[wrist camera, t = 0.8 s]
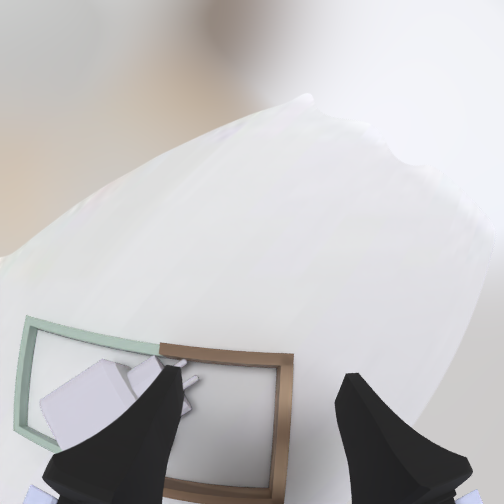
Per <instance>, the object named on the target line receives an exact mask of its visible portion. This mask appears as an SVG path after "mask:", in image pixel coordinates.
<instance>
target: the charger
mask: <svg viewBox="0 0 504 504" xmlns="http://www.w3.org/2000/svg"><path fill="white" fill-rule="evenodd" d="M186 364H187V360H186V359H182V360H181V361H179V362H178V363H176V364H175V365H173V366H178V367H180V368H181V367H183V366H184V365H186ZM163 368H164V366H163V364H162V363H161V362H160V360H159V359H158V358H157V357H156V356H155V355H153V356H151V357H150V358H148V359H147V360H145V361H144V362H142V363H141V364H139V365H138V366H136V367H135V368H133V369H132V370H131V368H130V367H128V366H125V365H122V364H118V363H115V362H111V361H108V360H105V359H101V360H100V361H98V362H97V363H95V364H94V365H92V366H91V367H89V368H88V369H86V370H85V371H83V372H82V373H80V374H79V375H77V376H76V377H74V378H73V379H71V380H70V381H68V382H66V383H65V384H63V385H62V386H60V387H59V388H57V389H56V390H54V391H53V392H51V393H50V394H48V395H47V396H45V397H44V398H42V399H41V400H40V402H39V403H40V408H41V411H42V413H43V416H44V418H45V420H46V422H47V424H48V426H49V428H50V430H51V432H52V433H53V435H54V437H55V439H56V441H57V443H58V444H59V446H60V448H61V450H62V451H64V450H66V449H69V448H71V447H73V446H75V445H77V444H79V443H81V442H83V441H85V440H86V439H88V438H90V437H92V436H93V435H95V434H97V433H98V432H100V431H101V430H103V429H104V428H105V427H107V426H108V425H110V424H111V423H112V422H113V421H115V420H116V419H117V418H118V417H119V416H121V415H122V414H123V413H124V412H125V411H126V410H127V409H128V408H129V407H130V406H131V405H132V404H133V403H134V402H135V401H136V400H137V399H138V398H139V397H140V396H141V395H142V394H143V393H144V392H145V390H146V389H147V388H148V387H149V386H150V385H151V383H152V382H153V381H154V380H155V379H156V377H157V376H158V375H159V373H160V372H161V371H162V369H163ZM198 380H199V377H198V376H197V375H194V376H193V377H191V378H190V379H188V380H187V381H185V382H184V383H183V390H184V389H186V388H187V387H189V386H190V385H192V384H193V383H195V382H196V381H198ZM191 409H192V408H191V406H190V404H189V402H188V401H187V399H186V397H185V396H184V402H183V408H182V413H181V416H182V415H183V414H185V413H186V412H188V411H190V410H191Z"/></svg>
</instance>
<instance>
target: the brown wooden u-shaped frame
mask: <svg viewBox="0 0 504 504" xmlns="http://www.w3.org/2000/svg"><path fill="white" fill-rule="evenodd" d="M159 354H160V355H162V356H164V357H166V358H170V359H177V360H182V359H186V360H187V361H193V362H201V363H211V364H221V365H233V366H247V367H265V368H277V376H276V395H275V412H274V428H273V443H272V456H271V469H270V481H269V488H249V487H233V486H221V485H212V484H204V483H197V482H190V481H184V480H178V479H173V478H168V477H165V482H164V489H163V497H167V498H171V499H176V500H182V501H188V502H194V503H201V504H284V497H285V487H286V476H287V465H288V452H289V439H290V424H291V406H292V386H293V360H294V354H287V353H262V352H246V351H232V350H220V349H210V348H200V347H191V346H183V345H175V344H168V343H160V347H159Z"/></svg>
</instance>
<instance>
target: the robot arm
mask: <svg viewBox="0 0 504 504" xmlns="http://www.w3.org/2000/svg"><path fill="white" fill-rule="evenodd" d="M183 402H184V391H183V383H182V376H181V368H180V367H178V366H170V365H166V366H165V367H164V368H163V369H162V371H161V372H160V373H159V375H158V376H157V377H156V379H155V380H154V381H153V382H152V383H151V385H150V386H149V387H148V388H147V389H146V390H145V392H144V393H143V394H142V395H141V396H140V397H139V398H138V399H137V400H136V401H135V402H134V403H133V404H132V405H131V406H130V407H129V408H128V409H127V410H126V411H125V412H124V413H123V414H122V415H121V416H119V417H118V418H117V419H116V420H115V421H113V422H112V423H111V424H110V425H108V426H107V427H105V428H104V429H103V430H101V431H100V432H98V433H97V434H95V435H93V436H92V437H90V438H88V439H86V440H85V441H83V442H81V443H79V444H77V445H75V446H73V447H71V448H69V449H66V450H64V451H61V452H59V453H56V454H54V455H53V456H52V458H51V459H50V461H49V463H48V465H47V467H46V470H45V472H44V474H43V476H42V478H43V480H44V481H45V482H46V483H47V484H48V485H49V486H50V487H51V488H52V489H53V490H55V491H56V492H57V493H58V494H60V497H59V500H58V499H57V498H55V497H53V496H51V495H50V494H48V493H46V492H44V491H42V490H41V489H39V488H37V487H35V486H34V485H30V488H29V490H28V492H27V495H26V497H25V499H24V502H23V504H162V497H163V489H164V482H165V475H166V469H167V463H168V459H169V455H170V451H171V448H172V445H173V441H174V438H175V435H176V431H177V428H178V425H179V421H180V418H181V413H182V408H183ZM335 410H336V418H337V423H338V427H339V431H340V435H341V438H342V442H343V446H344V449H345V453H346V457H347V461H348V466H349V473H350V482H351V494H352V504H483V502H482V500H481V497H480V495H479V492H478V490H477V489H476V490H474V491H472V492H470V493H468V494H466V495H464V496H462V497H461V498H459V499H457V500H456V501H454V498H453V497H454V496H455V495H456V492H455V489H456V488H457V487H458V486H459V485H461V484H462V483H463V482H464V481H466V480H467V479H468V478H469V477H470V476H471V475H472V473H473V470H472V468H471V466H470V463H469V461H468V459H467V458H466V457H464V456H461V455H458V454H456V453H453V452H451V451H448V450H446V449H444V448H442V447H440V446H438V445H436V444H435V443H433V442H431V441H430V440H428V439H427V438H425V437H424V436H422V435H420V434H419V433H418V432H416V431H415V430H414V429H412V428H411V427H410V426H409V425H407V424H406V423H405V422H404V421H403V420H401V419H400V418H399V417H398V416H397V415H396V414H395V413H394V412H393V411H392V410H391V409H390V408H389V407H388V406H387V405H386V404H385V403H384V402H383V401H382V400H381V398H380V397H379V396H378V395H377V394H376V393H375V392H374V391H373V389H372V388H371V387H370V386H369V385H368V384H367V382H366V381H365V380H364V379H363V378H362V377H361V375H360V374H359V373H348V374H346V375H345V377H344V380H343V382H342V385H341V388H340V390H339V393H338V395H337V397H336V400H335Z"/></svg>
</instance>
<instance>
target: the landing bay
mask: <svg viewBox="0 0 504 504" xmlns="http://www.w3.org/2000/svg"><path fill="white" fill-rule="evenodd" d="M37 329H40V330H43V331H46V332H50V333H53V334H57V335H60V336H64V337H67V338H71V339H75V340H79V341H83V342H87V343H91V344H95V345H100V346H104V347H109V348H114V349H118V350H123V351H129V352H134V353H139V354H145V355H151V356H153V355H155V356H157V357H164V356H162V355H160V354H159V347H160V345H159V344H153V343H146V342H140V341H134V340H129V339H123V338H118V337H113V336H108V335H103V334H98V333H93V332H89V331H84V330H80V329H76V328H72V327H67V326H63V325H60V324H56V323H52V322H48V321H45V320H41V319H38V318H34V317H31V316H27V315H26V319H25V324H24V329H23V334H22V339H21V345H20V351H19V358H18V365H17V374H16V384H15V396H14V431H15V432H17V433H18V434H20V435H22V436H23V437H25V438H27V439H29V440H30V441H32V442H34V443H36V444H38V445H40V446H41V447H43V448H45V449H47V450H49V451H51V452H53V453H55V454H56V453H59V452H61V451H62V450H61V448H60V446H59V444H58V443H57V441H55V440H53V439H51V438H49V437H47V436H45V435H43V434H41V433H39V432H37V431H35V430H33V429H32V428H30V427H28V426H27V412H28V395H29V383H30V374H31V366H32V358H33V352H34V346H35V340H36V334H37ZM164 358H166V357H164Z"/></svg>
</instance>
